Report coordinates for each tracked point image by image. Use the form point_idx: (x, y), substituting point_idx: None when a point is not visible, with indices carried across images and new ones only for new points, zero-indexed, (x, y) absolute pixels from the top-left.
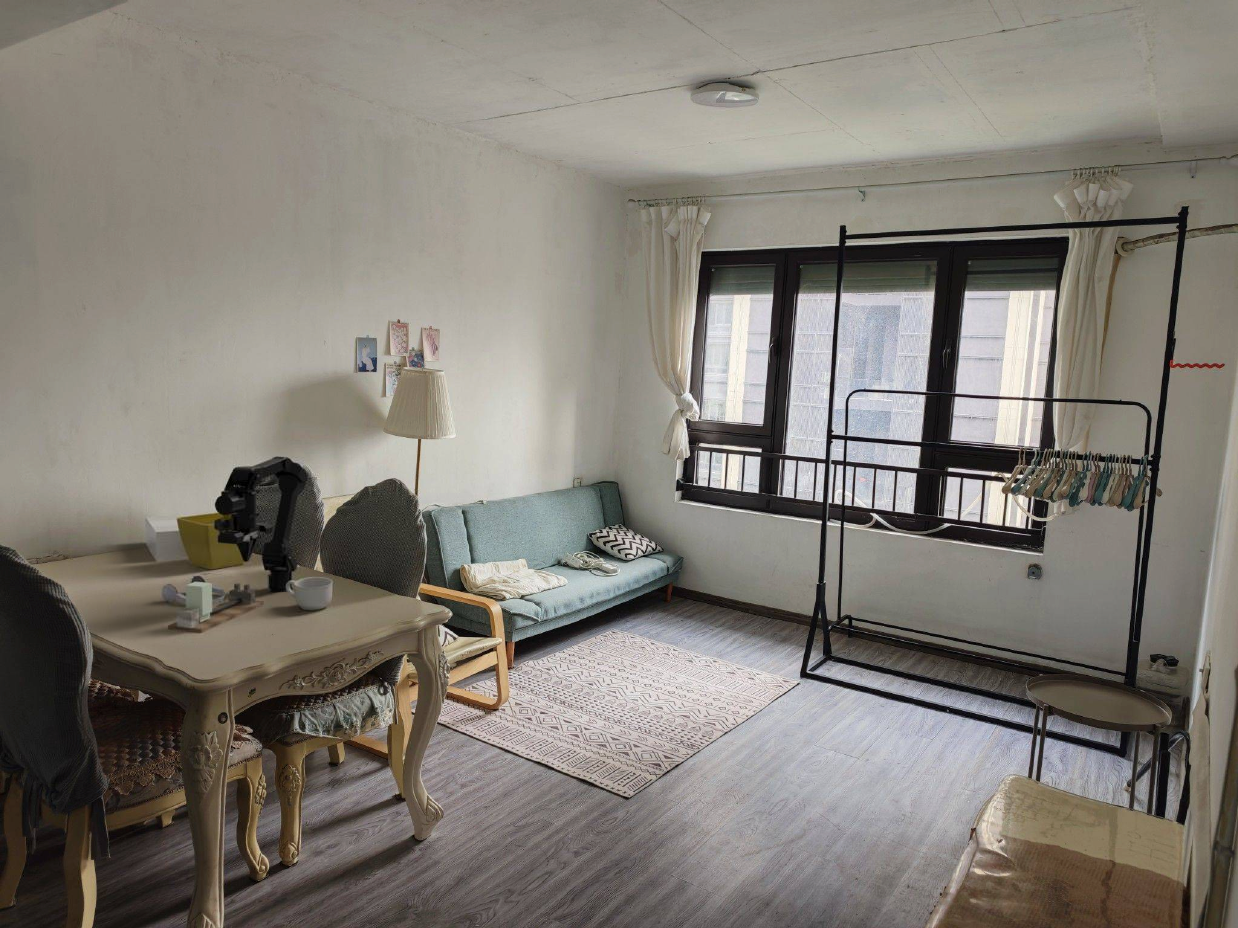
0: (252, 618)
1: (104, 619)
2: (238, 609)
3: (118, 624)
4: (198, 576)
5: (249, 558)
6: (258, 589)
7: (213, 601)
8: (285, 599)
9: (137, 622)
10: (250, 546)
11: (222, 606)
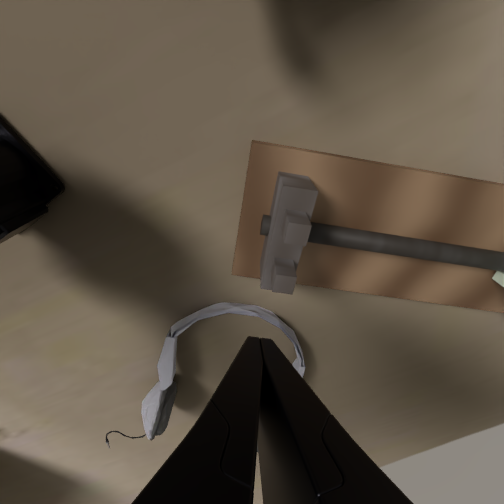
0: (472, 90)
1: (420, 442)
2: (384, 193)
3: (467, 411)
4: (154, 433)
5: (248, 347)
6: (55, 253)
7: (270, 315)
8: (142, 69)
9: (456, 390)
10: (368, 496)
11: (423, 246)
